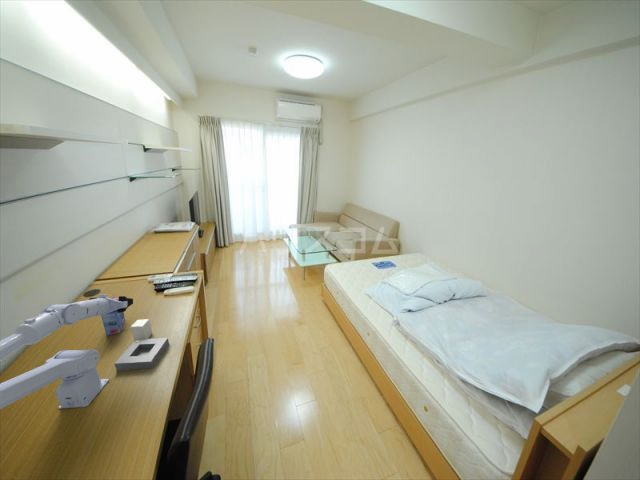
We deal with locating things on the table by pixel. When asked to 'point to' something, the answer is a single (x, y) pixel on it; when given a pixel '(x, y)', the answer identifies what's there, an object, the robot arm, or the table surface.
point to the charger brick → (141, 329)
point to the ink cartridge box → (113, 321)
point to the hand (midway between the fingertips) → (121, 301)
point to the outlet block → (142, 354)
